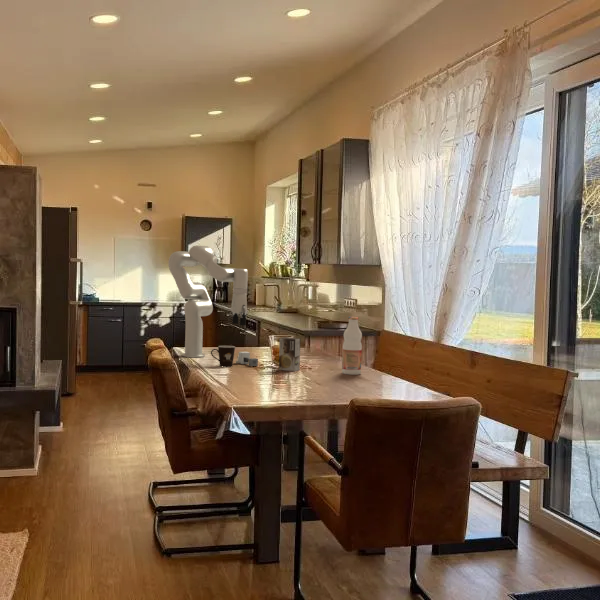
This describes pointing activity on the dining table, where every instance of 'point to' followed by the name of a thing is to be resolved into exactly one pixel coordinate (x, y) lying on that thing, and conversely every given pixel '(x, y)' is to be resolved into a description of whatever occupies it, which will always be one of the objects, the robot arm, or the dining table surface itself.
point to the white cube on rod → (242, 356)
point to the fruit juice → (352, 348)
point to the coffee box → (289, 354)
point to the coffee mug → (225, 355)
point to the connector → (253, 362)
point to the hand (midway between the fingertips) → (239, 324)
